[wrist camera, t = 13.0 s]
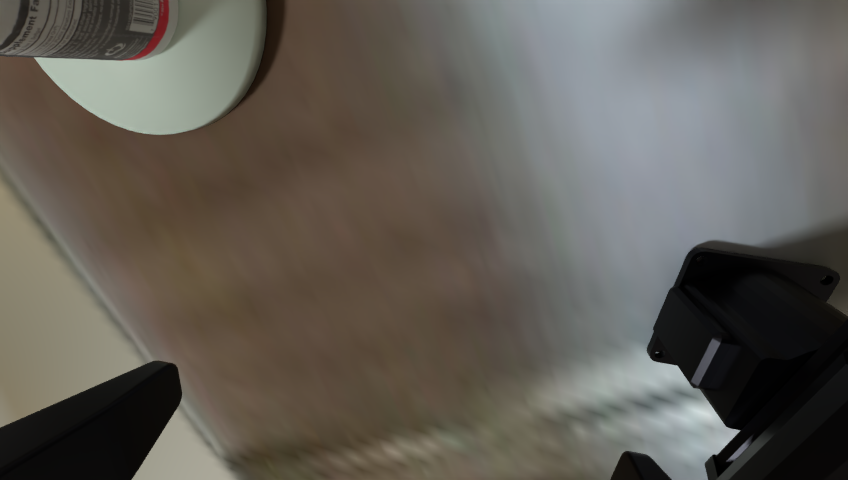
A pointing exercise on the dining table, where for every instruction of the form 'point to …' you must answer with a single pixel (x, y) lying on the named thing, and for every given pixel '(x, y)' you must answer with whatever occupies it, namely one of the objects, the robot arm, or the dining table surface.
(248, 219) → the dining table surface
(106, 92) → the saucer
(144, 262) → the dining table surface
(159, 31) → the pill bottle
